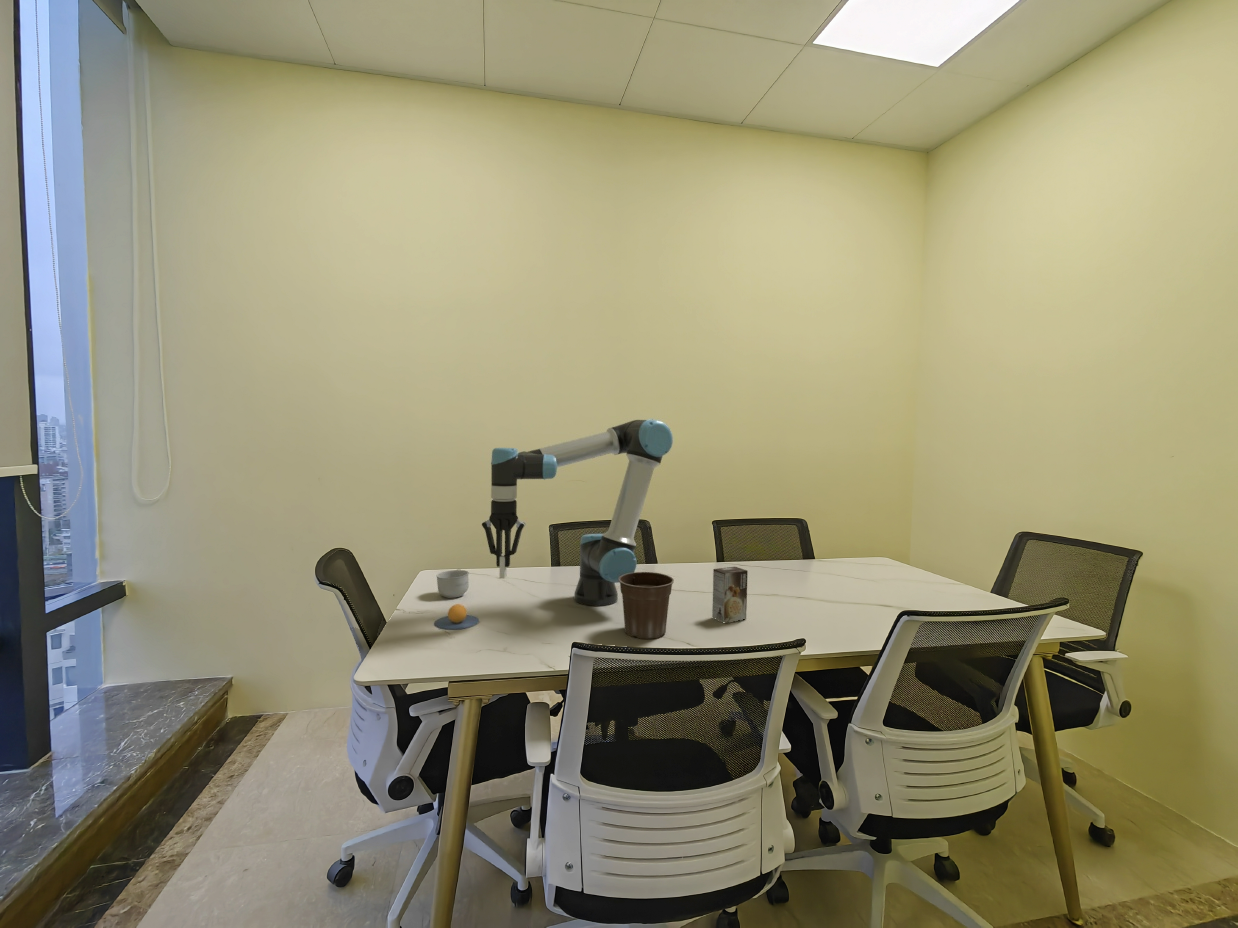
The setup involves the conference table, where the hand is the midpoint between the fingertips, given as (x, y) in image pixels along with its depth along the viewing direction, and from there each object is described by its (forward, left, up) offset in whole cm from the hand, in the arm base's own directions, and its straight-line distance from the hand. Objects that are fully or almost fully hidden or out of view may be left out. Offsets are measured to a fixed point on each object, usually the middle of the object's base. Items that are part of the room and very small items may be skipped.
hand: (503, 577), depth 174 cm
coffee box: (-70, -13, -15) cm, 73 cm away
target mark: (+14, 0, -14) cm, 20 cm away
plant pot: (-43, +2, -15) cm, 45 cm away
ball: (+14, 0, -12) cm, 18 cm away
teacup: (+24, -28, -15) cm, 40 cm away
